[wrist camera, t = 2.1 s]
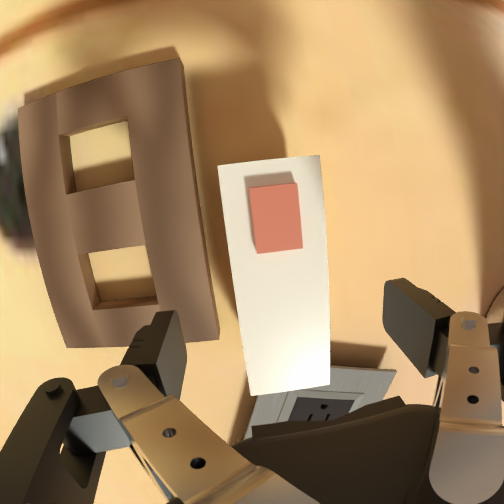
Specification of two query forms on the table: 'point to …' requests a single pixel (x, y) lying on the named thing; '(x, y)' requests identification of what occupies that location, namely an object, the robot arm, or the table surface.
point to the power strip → (279, 270)
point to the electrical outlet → (323, 397)
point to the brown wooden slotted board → (119, 206)
